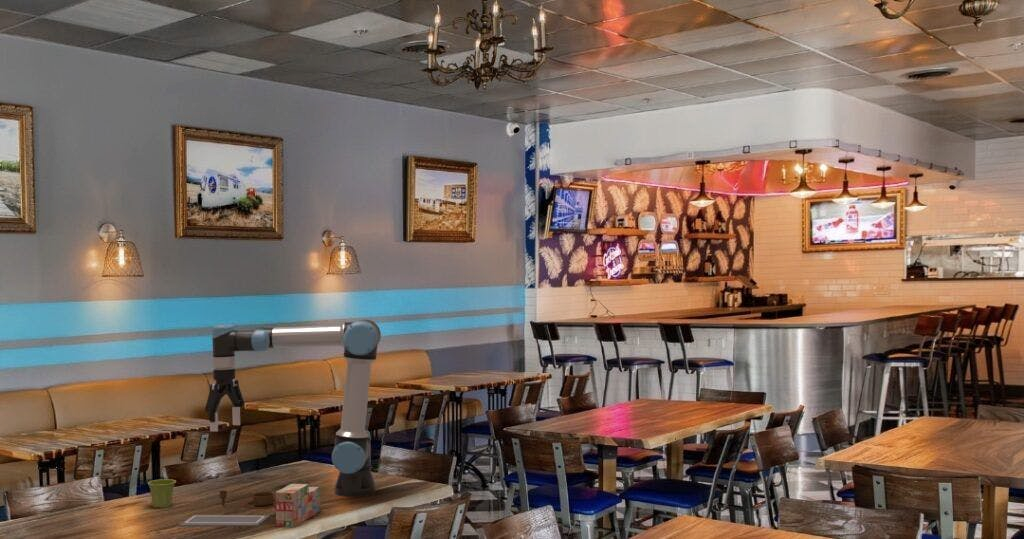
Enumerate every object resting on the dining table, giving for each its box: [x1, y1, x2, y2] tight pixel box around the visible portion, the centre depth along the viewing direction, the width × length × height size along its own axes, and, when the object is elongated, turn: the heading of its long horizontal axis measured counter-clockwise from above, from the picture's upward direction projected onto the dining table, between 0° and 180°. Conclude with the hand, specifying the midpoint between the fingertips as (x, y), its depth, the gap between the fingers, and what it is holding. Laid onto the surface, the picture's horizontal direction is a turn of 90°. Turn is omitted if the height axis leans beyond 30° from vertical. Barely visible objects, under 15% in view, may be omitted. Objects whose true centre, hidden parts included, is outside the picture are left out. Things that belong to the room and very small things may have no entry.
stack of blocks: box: [275, 483, 321, 528], centre depth 323 cm, size 21×6×12 cm, turn 168°
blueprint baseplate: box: [178, 514, 271, 528], centre depth 322 cm, size 26×13×1 cm, turn 86°
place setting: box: [219, 490, 276, 510], centre depth 346 cm, size 18×20×6 cm
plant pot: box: [147, 478, 177, 509], centre depth 346 cm, size 9×9×9 cm
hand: (225, 428), depth 347 cm, fingers open, 13 cm apart
